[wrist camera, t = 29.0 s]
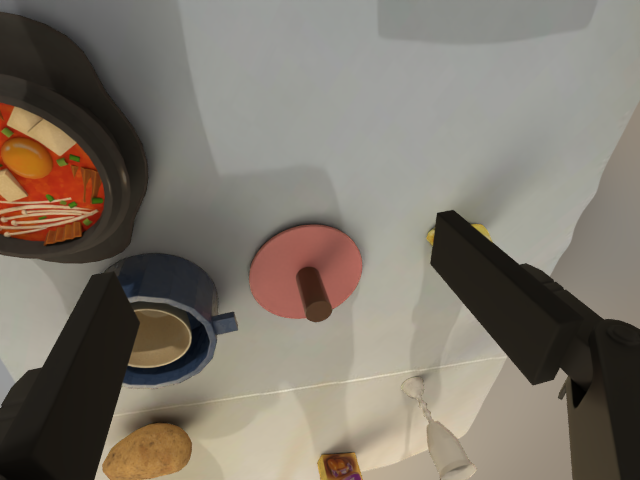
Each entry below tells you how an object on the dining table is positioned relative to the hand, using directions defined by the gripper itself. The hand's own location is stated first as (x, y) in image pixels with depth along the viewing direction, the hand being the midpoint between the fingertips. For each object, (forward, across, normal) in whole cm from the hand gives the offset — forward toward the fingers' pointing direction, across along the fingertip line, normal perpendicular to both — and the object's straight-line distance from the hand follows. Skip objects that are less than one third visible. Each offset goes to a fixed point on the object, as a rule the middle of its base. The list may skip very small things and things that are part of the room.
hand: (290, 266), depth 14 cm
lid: (+28, +4, -23) cm, 37 cm away
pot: (+29, -17, -23) cm, 41 cm away
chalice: (+29, +24, -59) cm, 70 cm away
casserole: (+29, -21, -2) cm, 36 cm away
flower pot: (+28, -17, -23) cm, 40 cm away
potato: (+29, -27, -52) cm, 65 cm away
